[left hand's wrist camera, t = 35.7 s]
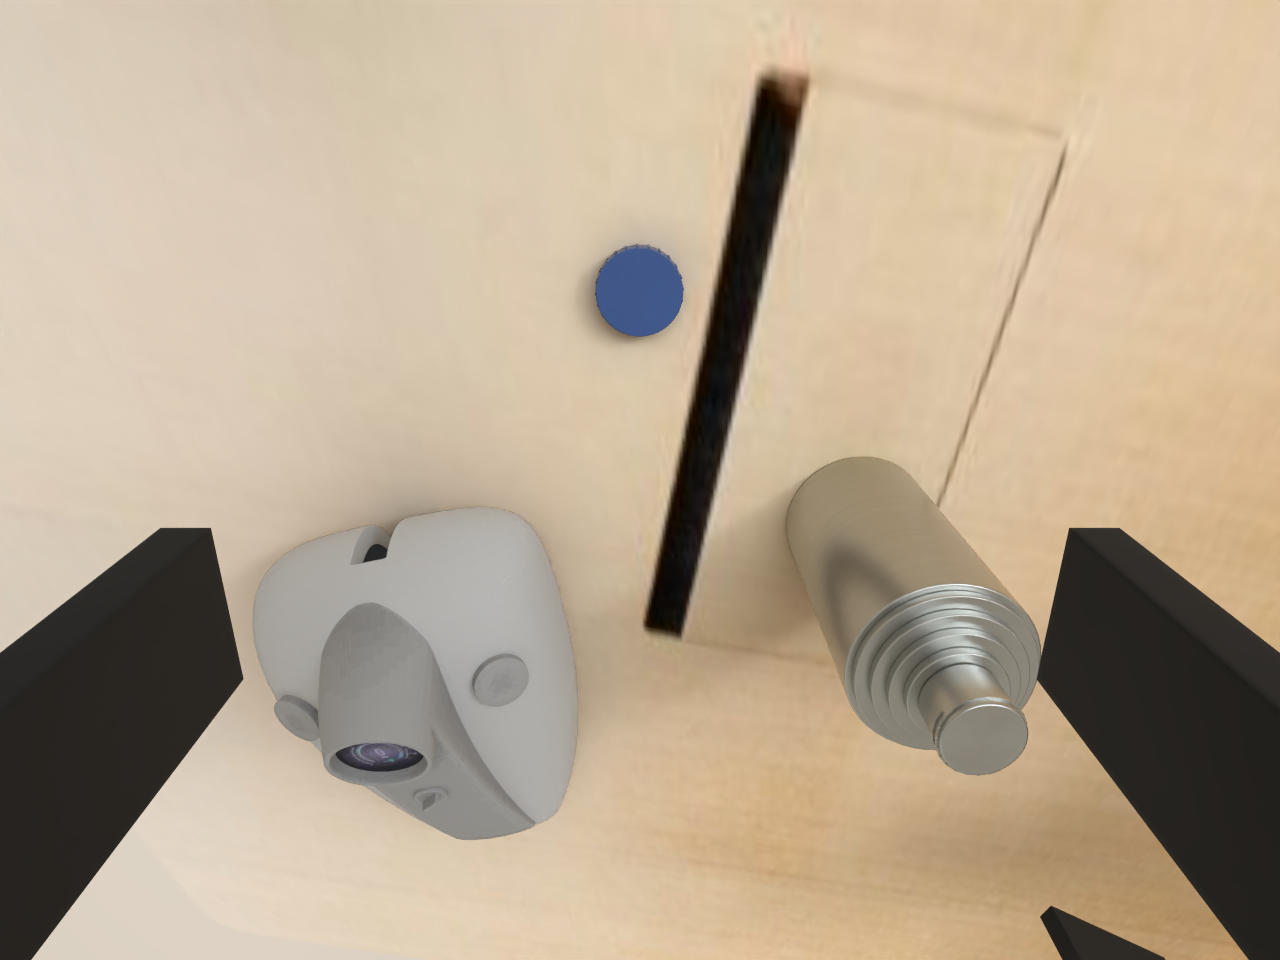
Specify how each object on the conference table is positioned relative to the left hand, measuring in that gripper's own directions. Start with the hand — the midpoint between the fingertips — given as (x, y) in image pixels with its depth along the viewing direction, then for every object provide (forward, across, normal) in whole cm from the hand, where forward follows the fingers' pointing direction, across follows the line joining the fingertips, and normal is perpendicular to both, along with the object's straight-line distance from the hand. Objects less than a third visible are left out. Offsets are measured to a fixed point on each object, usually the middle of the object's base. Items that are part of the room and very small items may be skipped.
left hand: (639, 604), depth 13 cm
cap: (+31, 0, 0) cm, 31 cm away
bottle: (+33, +13, -14) cm, 38 cm away
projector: (+33, -11, -23) cm, 42 cm away
